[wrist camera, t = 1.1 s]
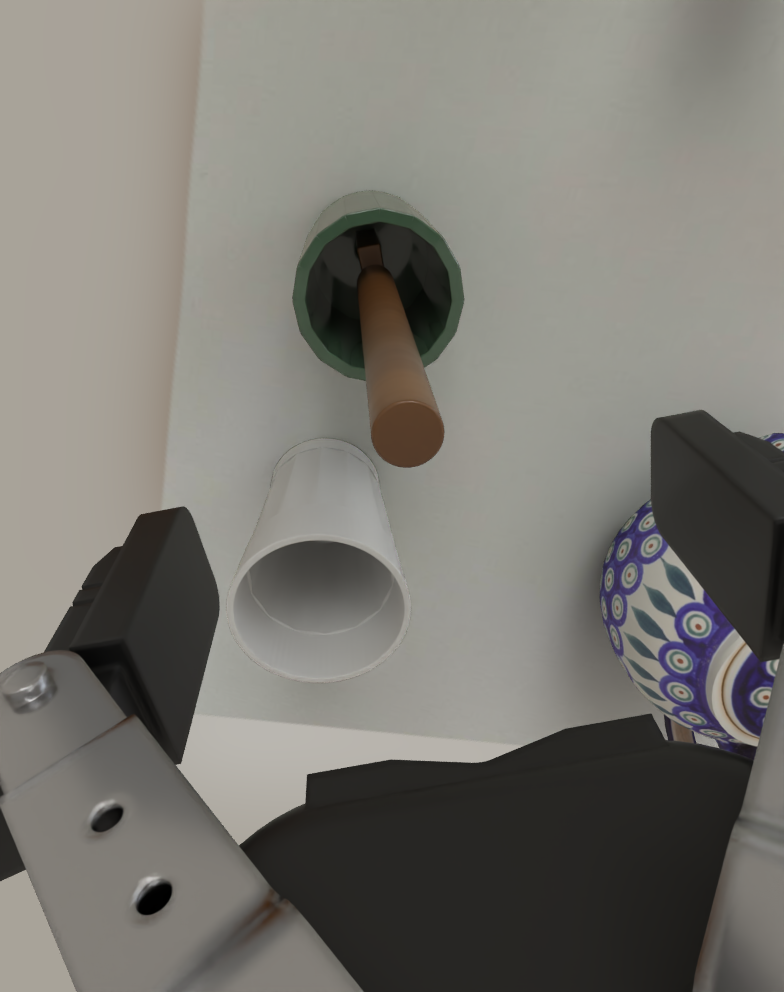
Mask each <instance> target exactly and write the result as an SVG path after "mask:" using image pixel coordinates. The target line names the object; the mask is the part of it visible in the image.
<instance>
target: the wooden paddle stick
mask: <svg viewBox="0 0 784 992" xmlns="http://www.w3.org/2000/svg"><path fill="white" fill-rule="evenodd" d="M355 237H356V245H357V252H358V257H359V262H360V267H361V272H360V274H359V276H358V279H357V291H358V302H359V312H360V323H361V333H362V344H363V355H364V365H365V376H366V386H367V397H368V408H369V418H370V429H371V439H372V443H373V446H374V449H375V450H376V452H377V453H378V455H379V456H380V457H381V458H382V459H383V460H385V461H386V462H388V463H390V464H392V465H395V466H398V467H405V468H406V467H415V466H419V465H422V464H424V463H426V462H427V461H429V460H430V459H431V458H433V457H434V456H435V455H436V453H437V452H438V451H439V449H440V447H441V445H442V443H443V439H444V425H443V421H442V418H441V416H440V413H439V410H438V407H437V404H436V401H435V398H434V395H433V392H432V389H431V387H430V384H429V381H428V378H427V375H426V372H425V369H424V366H423V363H422V360H421V357H420V355H419V352H418V349H417V346H416V343H415V340H414V337H413V334H412V331H411V328H410V326H409V323H408V320H407V317H406V314H405V311H404V308H403V305H402V302H401V299H400V297H399V294H398V291H397V288H396V285H395V282H394V279H393V276H392V274H391V273H390V271H389V270H388V269H387V268H385V267H384V263H383V258H382V252H381V246H380V243H379V240H378V237H377V234H376V231H375V229H370V230H365V231H360V232H356V233H355Z"/></svg>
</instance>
